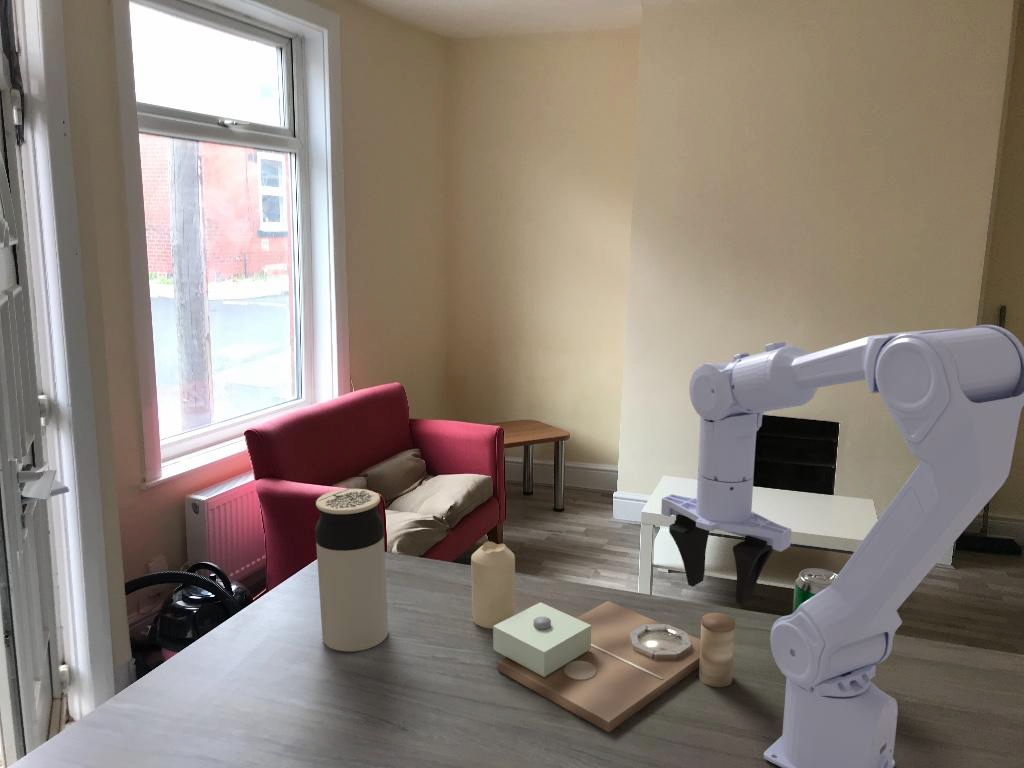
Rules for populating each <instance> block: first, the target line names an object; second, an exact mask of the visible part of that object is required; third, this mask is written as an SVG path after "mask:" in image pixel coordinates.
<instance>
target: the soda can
mask: <svg viewBox="0 0 1024 768" xmlns="http://www.w3.org/2000/svg"><path fill="white" fill-rule="evenodd" d="M837 575H838V574H837V573H835V572H834V571H831V570H828V569H824V568H816V567H815V568H814V567H812V568H811V567H809V568H804V569H803V570H800V571H799V573H798V577H797V578H796V580H795V581H794V589H793V590H794V591H793V605H792V614H793V613H794V612H795V611H796V610H797V608H798V607H799V606H800V605H801V604H802V603H804V602H805V601H807V600H808V599H810V598H811V597H813V596H814V595H816V594H818V593H819V592H821V591H822V590H824V589H825V588H827V587H828V586H830V585H831V583H832V582H833V581H834V579H835V578H836V576H837Z"/></svg>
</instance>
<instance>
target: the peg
mask: <svg viewBox="0 0 1024 768" xmlns="http://www.w3.org/2000/svg"><path fill="white" fill-rule="evenodd" d="M700 621H701V623H700V625H701V626H700V640H701V643H700V665H699V667H698V668H699V670H698V678H699V680H700V681H701V682H702V683H703V684H705V685H707V686H710V687H713V688H724V687H728V686H729V685H731V684H732V682H733V670H734V654H735V653H734V652H735V650H734V649H735V634H736V633H735V632H736V631H735V630H736V621H735V619H734V618H733V617H732V616H730V615H728V614H725V613H721V612H709V613H706V614H704V615H702V617H701V620H700Z"/></svg>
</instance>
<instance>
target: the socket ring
mask: <svg viewBox="0 0 1024 768" xmlns="http://www.w3.org/2000/svg"><path fill="white" fill-rule="evenodd" d="M687 634H688V633H687V632H686V631H684V630H682V629H680V628H677V627H674V626H672V625H669V624H666V623H662V624H645V625H642V626H640V627H638V628H637V629H635V630H634V631H632V632H630V641H631V644H632V648H633V649H634V651H636V652H638V653H641V654H643V655H645V656H647V657H649V658H651V659H653V658H654V659H677V658H680V657H681V656H683V655H684V654H686V653H687V652H689V651H690V650H691V642H690V640H689V637H688V635H689V634H688V635H687Z"/></svg>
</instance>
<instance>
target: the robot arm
mask: <svg viewBox="0 0 1024 768" xmlns="http://www.w3.org/2000/svg"><path fill="white" fill-rule="evenodd" d="M764 348H765V351H763V352H759V353H756V354H751V355H750V353H749V352H743V353H737V354H734V356H733V358H732V359H733V360H732V361H728V362H719V363H713V362H705V363H703V364H702V365H701V366H699V367H698V368H696V369H695V371H694V372H693V373H692V375H691V378H690V381H689V397H690V401H691V405H692V407H693V409H694V411H696V414H697V415H699V438H698V439H699V442H698V443H699V444H698V445H699V446H698V460H697V461H698V463H697V482H696V484H697V487H696V488H697V489H696V498H694V497H687V496H682V495H677V494H673V493H671V494H669V495H666V496H664V497H662V498H661V507H660V508H661V510H660V511H661V515H663V516H666V517H671V516H675V519H674V522H673V523H671V524H670V525H669V526H668V527H669V528H668V530H669V531H668V532H669V535H670V536H671V537H672V539H673V541H674V543H675V544H676V546H677V549H678V551H679V554H680V557H681V560H682V563H683V567H684V572H685V575H686V576H685V577H686V581H687V585H688V586H690V587H695V586H697V585H698V584H700V583H702V582H703V581H704V578H705V577H704V576H705V571H706V553H707V545H708V541H709V536H710V532H714V531H715V530H716V531H721V532H722V531H723V532H726V533H729V534H732V535H735V536H739V537H742V538H744V540H743V541H742V540H741V541H740V542H738V543H736V544H734V545H733V546H732V552H733V556H734V560H735V566H736V567H735V568H736V570H735V571H736V585H735V586H736V587H735V600H736V601H735V602H736V604H738V605H741V606H744V605H746V604H747V603H748V602H750V601H751V600H752V599H753V595H754V592H755V588H756V585H757V582H758V579H759V578H760V575H761V573H762V571H763V569H764V567H765V565H766V563H767V561H768V560H769V559H770V557H771V556H772V554H773V552H774V551H776V552H780V553H782V552H783V551H785V550H787V549H789V547H791V542H792V541H791V540H792V528H790V527H787V526H784V525H782V524H778V523H777V522H774V521H772V520H770V519H769V518H766V517H765V516H762V515H760V514H758V513H757V512H755V511H752V508H753V491H754V490H753V489H754V473H755V457H756V444H757V443H756V442H757V441H756V440H757V432H758V431H759V430H760V428H761V427H762V425H763V416H764V413H767V412H772V411H777V410H783V409H789V408H794V407H800V406H804V405H805V404H807V403H809V402H810V401H811V400H813V398H814V396H815V395H816V394H817V393H816V392H817V390H818V389H819V388H824V387H829V386H837V385H842V384H847V383H854V382H860V381H865V383H866V388H867V391H868V392H869V393H871V394H878V393H879V396H880V397H881V399H882V401H883V404H884V405H885V407H886V408H887V411H888V412H889V415H890V417H891V418H892V419H893V421H894V424H895V426H896V428H897V429H898V431H899V433H900V435H901V436H902V438H903V440H904V442H905V445H906V446H907V448H908V450H909V451H910V454H911V455H912V456H913V457H915V458H917V459H919V461H918V462H919V463H918V465H917V466H916V467H915V469H914V470H913V472H912V473H911V475H910V476H909V477H908V479H907V480H906V482H905V483H904V484H903V485H902V487H901V488H900V489H899V491H898V492H897V493H896V495H894V497H893V499H892V500H891V502H890V503H889V505H888V506H887V507H886V508H885V509H884V512H882V514H881V516H879V518H878V519H877V521H876V522H875V523H874V524H873V526H872V528H871V529H870V530H869V532H868V533H867V534H866V535H865V537H864V539H863V540H862V541H861V542H860V543H859V545H858V547H857V548H856V549H855V550H854V552H853V553H852V554H851V556H850V558H849V559H848V561H846V563H845V564H844V566H842V568H841V570H840V571H839V572H838V574H837V576H836V578H835V579H834V581H833V582H832V583H831V585H830V586H828V587H827V588H825V589H824V590H822V591H821V592H819V593H818V594H816V595H814V596H813V597H811V598H810V599H808V600H807V601H805V602H804V603H802V604H801V605H800V606H799V607H798V608H797V610H796V611H795V612H794V613H793V612H792V613H791V614H789V615H783V616H781V617H779V618H778V619H776V620H775V621H774V622H773V625H772V626H771V630H770V638H769V640H770V649H771V653H772V657H773V659H774V661H775V663H776V665H777V667H778V668H779V670H780V672H781V674H782V675H784V676H785V677H786V683H785V692H784V693H785V697H784V705H783V707H784V710H783V720H782V721H783V722H782V735H781V736H780V737H778V739H777V740H775V742H773V743H772V744H771V745H770V746H769V747H768V748H767V749H766V750H765V751H764V752H763V758H764V759H765V761H769V762H770V763H772V764H774V765H777V766H778V767H780V768H894V767H895V765H896V761H895V759H894V751H895V744H896V743H895V742H896V732H897V723H898V713H899V710H898V707H899V706H898V701H897V700H896V698H894V697H892V696H890V695H889V694H887V693H886V692H884V691H883V690H881V689H879V687H878V686H877V685H875V684H874V683H873V682H872V681H871V679H872V678H875V677H876V671H877V669H876V667H877V664H881V663H883V662H884V661H886V659H887V658H888V657H889V656H890V654H891V652H892V648H893V641H894V636H895V633H896V631H897V630H898V628H899V627H900V626H902V623H903V620H902V618H901V617H900V615H899V612H898V609H899V608H900V607H901V606H902V604H903V603H904V602H905V601H906V600H907V599H908V597H909V596H910V595H911V594H912V592H914V591H915V589H916V588H917V587H918V585H919V584H921V582H922V581H923V580H924V578H925V577H926V576H927V575H928V574H929V573H930V571H931V570H932V569H933V568H934V567H935V565H936V564H937V563H938V562H939V561H940V560H941V559H942V557H943V556H944V555H945V554H946V552H947V551H948V550H949V549H950V548H951V546H952V545H953V544H955V542H956V540H958V539H959V537H960V536H961V534H963V532H964V531H965V530H966V529H967V527H968V526H969V525H970V524H971V523H972V522H973V520H974V519H975V518H976V517H977V516H978V515H979V514H980V513H981V511H982V510H983V509H984V507H986V505H987V504H988V503H989V502H990V500H991V499H992V498H993V497H994V495H995V494H996V493H997V492H998V491H999V489H1001V488H1002V486H1003V485H1004V483H1005V482H1006V480H1007V478H1008V477H1009V474H1010V471H1011V468H1012V467H1011V466H1012V461H1013V455H1014V450H1015V444H1016V439H1017V433H1018V428H1019V423H1020V418H1021V414H1022V413H1021V411H1022V409H1023V408H1024V346H1023V344H1022V342H1021V340H1020V339H1018V337H1016V336H1015V334H1014V333H1012V332H1011V331H1009V330H1008V329H1006V328H1003V327H1001V326H998V325H994V324H980V325H975V326H972V327H970V328H963V329H959V328H941V329H928V330H915V331H913V330H911V331H900V332H891V333H882V334H875V335H869V336H866V337H861V338H858V339H855V340H852V341H849V342H845V343H843V344H838V345H835V346H831V347H828V348H825V349H822V350H819V351H815V352H811V353H808V351H806V350H804V349H803V348H802V347H799V346H795V345H787V344H786V342H785V341H778V342H777V341H776V342H771V343H767V344H765V345H764Z"/></svg>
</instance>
